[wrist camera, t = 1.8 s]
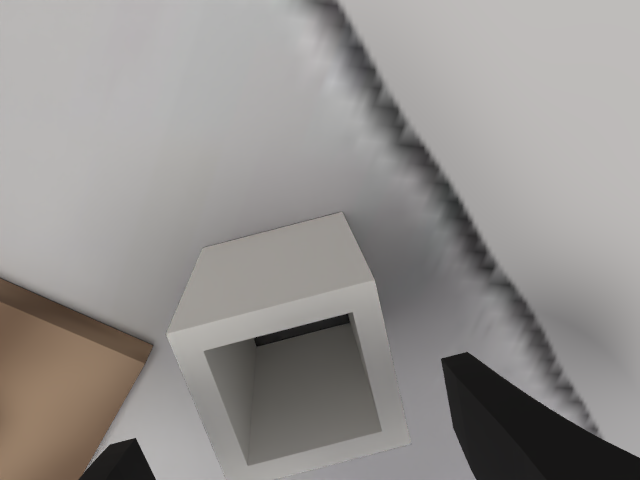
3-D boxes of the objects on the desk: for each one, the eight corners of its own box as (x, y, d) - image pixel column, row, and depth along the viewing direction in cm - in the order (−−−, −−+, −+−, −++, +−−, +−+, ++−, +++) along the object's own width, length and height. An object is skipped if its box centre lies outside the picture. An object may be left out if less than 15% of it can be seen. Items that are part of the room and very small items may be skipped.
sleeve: (342, 211, 17) (374, 279, 11) (370, 333, 19) (411, 444, 13) (202, 247, 17) (165, 334, 11) (244, 365, 19) (230, 491, 13)
